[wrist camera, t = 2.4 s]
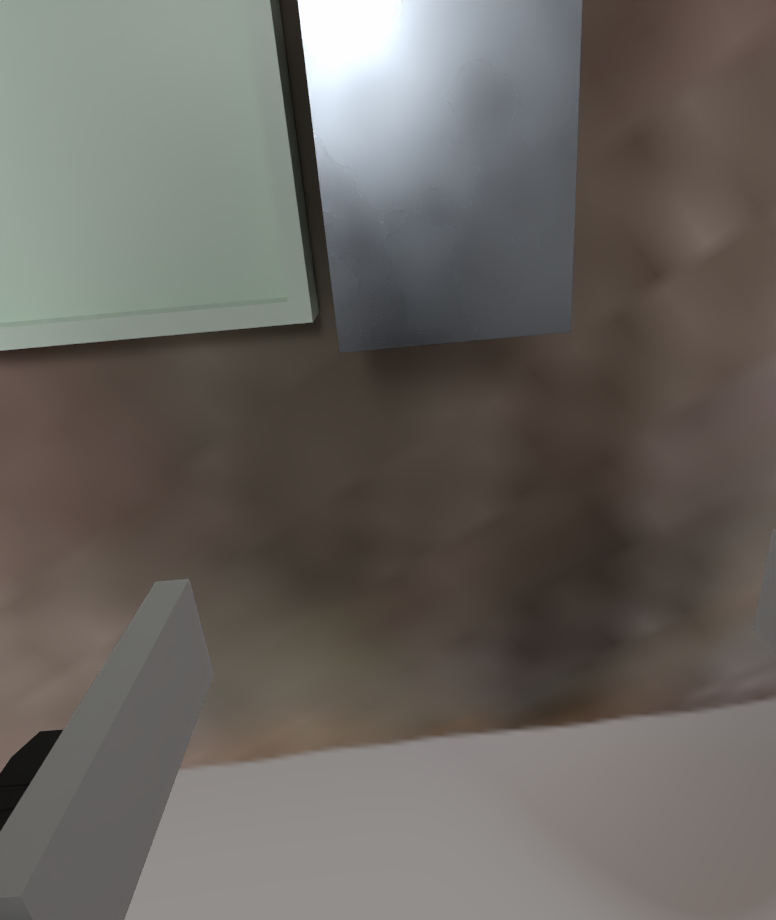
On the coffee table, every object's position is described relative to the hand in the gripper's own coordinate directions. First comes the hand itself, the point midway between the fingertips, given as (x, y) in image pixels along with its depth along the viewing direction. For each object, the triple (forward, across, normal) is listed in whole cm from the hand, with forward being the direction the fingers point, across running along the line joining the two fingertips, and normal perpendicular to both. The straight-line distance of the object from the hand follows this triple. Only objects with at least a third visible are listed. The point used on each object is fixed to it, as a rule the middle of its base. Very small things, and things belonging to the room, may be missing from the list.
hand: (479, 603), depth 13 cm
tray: (+13, -11, +12) cm, 21 cm away
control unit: (+13, 0, +10) cm, 16 cm away
